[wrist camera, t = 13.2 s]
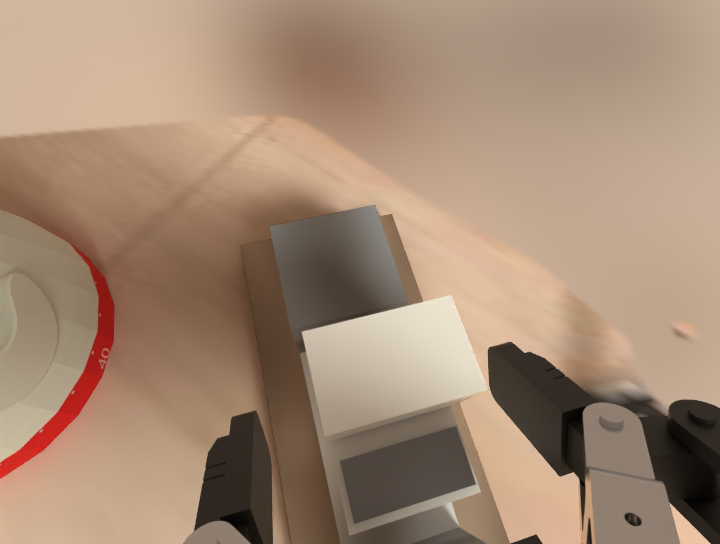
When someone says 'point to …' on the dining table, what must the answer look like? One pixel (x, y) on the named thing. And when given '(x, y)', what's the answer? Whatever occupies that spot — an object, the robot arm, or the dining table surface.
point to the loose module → (395, 409)
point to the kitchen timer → (46, 337)
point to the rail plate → (294, 382)
